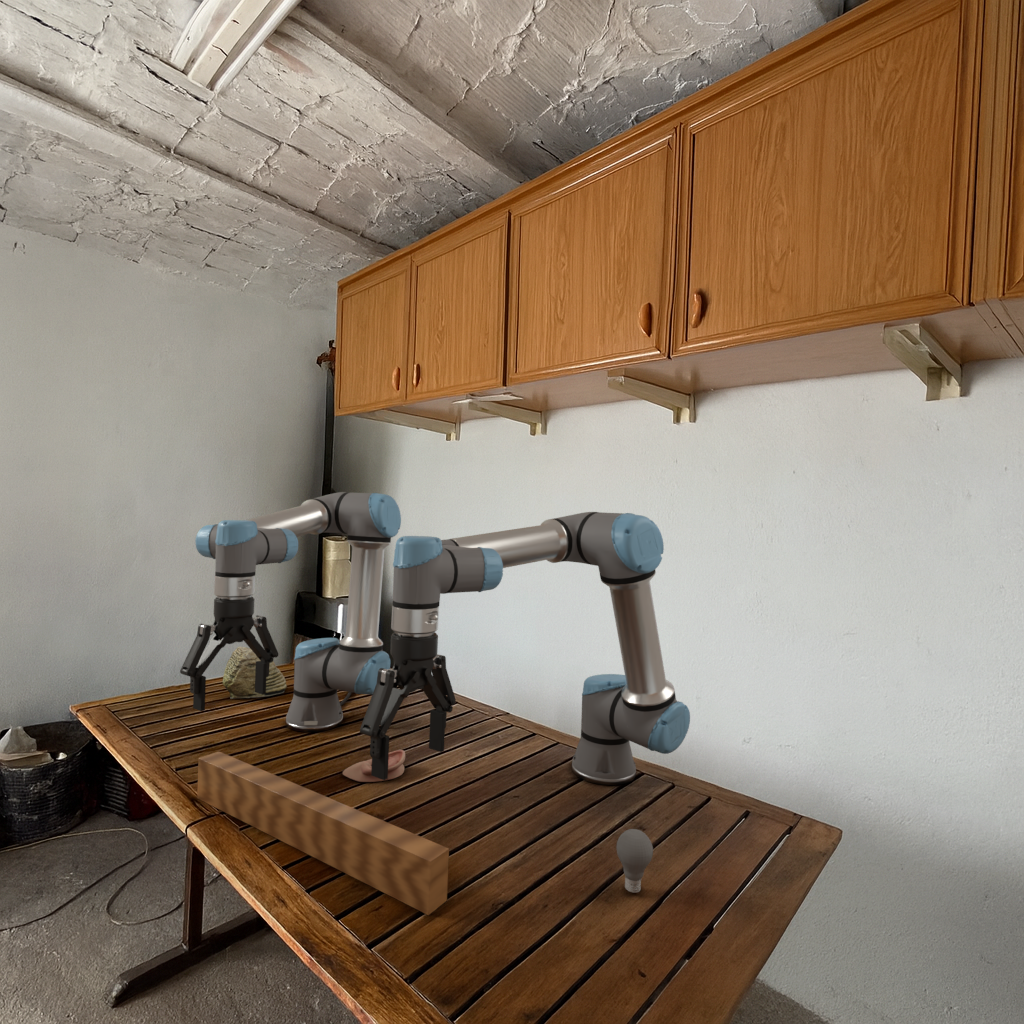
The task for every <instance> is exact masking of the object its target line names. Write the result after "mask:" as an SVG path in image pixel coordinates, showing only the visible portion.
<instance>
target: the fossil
mask: <svg viewBox="0 0 1024 1024" xmlns="http://www.w3.org/2000/svg"><path fill="white" fill-rule="evenodd" d="M256 661H261V660H260V659H259V658H258V657H257V656H256V655H255V653H254V652H253V651H252V650H251V649H250V647H247V646H246V647H245V646H238V647H237V648H236V649H235V650H233V651H232V653H231V656H230V657H229V659H228V660H227V663H226V666H225V668H224V671H223V675H222V676H223V677H222V685H223V687H224V688H225V690H226V691H228V693H229V698H230V699H250V698H264V697H271V696H275V695H281V694H284V693H285V691H286V689H287V687H288V686H287V680H286V678H285V676H284V674H283V673H282V672H281V669H279V668H278V667H277V665H276V663H275V662H274V660H273V662H272V663H270V664H269V676H268V677H266V694H263V695H262V694H259V693H256V692H255V670H256Z"/></svg>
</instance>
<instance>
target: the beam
mask: <svg viewBox="0 0 1024 1024" xmlns="http://www.w3.org/2000/svg"><path fill="white" fill-rule="evenodd" d="M197 765H198V766H197V789H196V791H197V792H196V799H198V800H200V801H202V802H203V803H205V804H207V805H209V806H211V807H213V808H215V809H218V810H219V811H221V812H223V813H226V814H227V815H229V816H231V817H232V818H235V819H237V820H239V821H241V822H243V823H245V824H247V825H249V826H251V827H253V828H255V829H257V830H259V831H261V832H263V833H265V834H267V835H268V836H271V837H273V838H275V839H276V840H279V841H281V842H283V843H284V844H287V845H289V846H290V847H292V848H293V849H294V848H295V849H297V850H298V851H301V852H302V853H305V854H307V856H310V857H312V858H314V859H316V860H318V861H320V862H322V863H324V864H326V865H328V866H330V867H332V868H334V869H336V870H338V871H340V872H342V873H344V874H346V875H348V876H350V877H351V878H354V879H355V880H358V881H360V882H361V883H364V884H365V885H367V886H369V887H372V888H374V889H375V890H377V891H379V892H382V893H384V894H386V895H388V896H389V897H391V898H393V899H395V900H397V901H399V902H401V903H403V904H405V905H407V906H409V907H411V908H413V909H415V910H417V911H419V912H421V913H423V914H425V915H427V916H430V915H431V914H432V913H433V912H435V911H436V910H437V909H438V908H440V906H442V905H443V904H444V903H446V901H448V884H449V883H448V882H449V859H450V858H449V856H450V848H449V847H447V846H444V845H442V844H439V843H437V842H434V841H432V840H429V839H427V838H425V837H422V836H420V835H419V834H416V833H413V832H410V831H409V830H406V829H404V828H401V827H399V826H397V825H394V824H392V823H389V822H387V821H385V820H383V819H381V818H377V817H375V816H373V815H371V814H368V813H367V812H363V811H361V810H359V809H356V808H354V807H352V806H349V805H347V804H344V803H342V802H339V801H338V800H335V799H332V798H330V797H328V796H326V795H323V794H321V793H319V792H316V791H314V790H312V789H309V788H307V787H304V786H303V785H299V784H297V783H295V782H293V781H290V780H288V779H286V778H283V777H281V776H279V775H276V774H273V773H272V772H269V771H266V770H264V769H262V768H259V767H257V766H255V765H252V764H250V763H247V762H246V761H243V760H240V759H238V758H235V757H233V756H231V755H229V754H227V753H224V752H221V751H216V752H212V753H210V754H207V755H204V756H200V757H198V763H197Z"/></svg>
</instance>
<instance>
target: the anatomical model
mask: <svg viewBox="0 0 1024 1024" xmlns="http://www.w3.org/2000/svg"><path fill="white" fill-rule="evenodd" d="M405 760H406V751H405V750H403V749H397V750H393V751H389V757H388V779H386V780H382V779H380V778H377V777H374V776H372V775H371V770H372V758H370V759H367V760H363V761H359V762H356V763H354V764H352V765H350V766H348V767H346V768H345V769H344V770H343V771H342V776H344V777H346V778H348V779H349V780H353V781H355V782H359V783H372V782H373V783H375V782H382V781H388V780H393V779H396V778H398V777H400V776H402V775H403V773H404V772H405V765H404V763H405Z"/></svg>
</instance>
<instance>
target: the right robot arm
mask: <svg viewBox="0 0 1024 1024" xmlns="http://www.w3.org/2000/svg"><path fill="white" fill-rule="evenodd" d="M664 550H665V549H664V539H663V535H662V533H661V530H660V528H659V527H658V525H657V524H656V523H655V522H654V521H653V520H652V519H650V518H649V517H648V516H646V515H641V514H635V513H632V512H624V513H622V512H601V511H600V512H599V511H585V512H580V513H574V514H570V515H569V514H568V515H565V516H560V517H555V518H548V519H546V520H544V521H542V522H541V523H540V525H533V526H526V527H520V528H513V529H507V530H500V531H493V532H486V533H479V534H473V535H466V536H460V537H452V538H448V539H441V538H439V537H437V536H425V535H404V536H400V537H398V538H397V540H396V542H395V548H394V555H393V562H392V567H393V578H392V579H393V580H392V581H393V583H392V605H391V624H390V629H391V630H392V631H393V632H392V634H390V652H389V653H390V656H391V657H392V659H393V666H392V668H390V669H384V668H380V669H379V670H378V676H377V684H376V686H375V689H374V692H373V694H371V697H370V700H369V703H368V705H367V708H366V712H365V713H364V717H363V720H362V723H361V725H360V727H359V733H360V734H362V735H364V736H367V737H370V741H369V744H370V745H369V756H370V758H371V759H372V770H371V775H372V776H374V777H377V778H380V779H382V780H384V781H387V780H386V779H388V757H389V753H390V735H387V733H388V731H389V728H390V727H391V725H392V723H393V721H394V720H395V717H396V716H397V713H398V711H399V709H400V707H401V705H402V704H403V701H404V700H405V699H406V698H408V697H409V695H410V693H414V692H415V691H417V690H422V691H423V693H424V694H425V696H426V698H427V699H428V701H429V702H430V704H431V705H432V707H433V708H434V709H431V710H430V711H429V712H430V713H429V734H428V737H429V738H428V749H429V750H433V751H436V752H438V753H442V752H444V751H445V738H446V737H445V735H446V734H445V733H446V727H447V715H448V714H447V713H452V712H453V709H454V708H453V706H454V705H455V704H456V697H455V693H454V690H453V686H452V683H451V679H450V677H449V673H448V670H447V658H446V655H442V654H439V653H438V648H439V647H438V646H439V636H438V634H437V631H438V630H439V613H440V611H439V610H440V602H441V595H446V594H455V593H474V592H475V593H476V592H478V593H482V592H487V591H491V590H494V589H496V588H498V586H499V585H500V584H501V582H502V579H503V575H504V573H503V572H504V569H506V568H510V567H511V568H512V567H516V566H521V565H526V564H533V563H536V562H542V561H547V562H549V563H552V564H556V563H562V562H569V563H570V562H571V563H578V564H586V565H591V566H596V567H597V566H598V567H597V568H598V572H599V578H600V581H601V582H602V583H603V584H604V585H606V586H607V587H608V588H609V593H610V598H611V604H612V610H613V614H614V615H613V616H614V620H615V627H616V632H617V638H618V643H619V649H620V654H621V661H622V666H623V672H624V674H618V673H605V674H603V673H601V674H594V675H591V676H589V677H587V678H585V680H584V682H583V687H582V693H581V696H582V697H581V721H580V722H581V723H580V724H581V725H580V738H579V741H578V744H577V746H576V749H575V751H574V754H573V757H572V761H571V771H572V772H573V774H574V775H575V776H577V777H578V778H580V780H581V779H582V780H583V781H585V782H588V783H592V784H597V785H604V786H621V785H625V784H628V783H630V782H632V781H634V779H635V778H636V775H637V766H636V762H635V760H634V756H633V751H632V748H631V743H633V744H636V745H639V746H641V747H644V748H645V749H647V750H649V751H651V752H657V753H660V754H663V755H666V754H671V753H673V752H675V751H677V749H678V748H679V747H680V746H681V745H682V743H683V742H684V740H685V738H686V736H687V734H688V732H689V729H690V725H691V724H690V723H691V712H690V709H689V707H688V705H686V704H685V703H684V702H682V701H679V700H677V697H676V690H675V687H674V684H673V683H672V682H671V681H669V680H667V679H666V674H665V673H666V672H665V667H664V661H663V660H664V659H663V655H662V650H661V643H660V642H661V641H660V637H659V636H660V635H659V629H658V624H657V617H656V611H655V605H654V598H653V593H652V587H651V580H652V579H653V578H654V577H655V575H656V573H657V572H656V569H657V568H658V567H660V564H661V562H662V560H663V557H662V555H663V554H664Z"/></svg>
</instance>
